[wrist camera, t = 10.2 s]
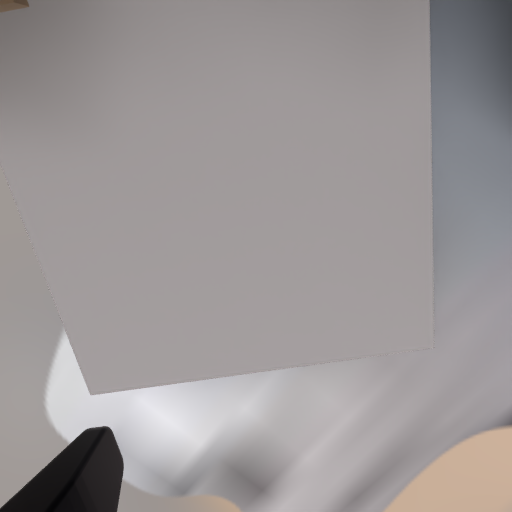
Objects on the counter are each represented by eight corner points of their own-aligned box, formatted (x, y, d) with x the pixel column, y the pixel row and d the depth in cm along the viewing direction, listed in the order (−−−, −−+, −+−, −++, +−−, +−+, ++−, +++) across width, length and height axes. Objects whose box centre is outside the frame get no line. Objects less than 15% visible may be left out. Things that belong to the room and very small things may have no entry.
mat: (422, -76, 15) (428, -82, 14) (429, 341, 22) (434, 348, 21) (-47, 17, 16) (-58, 16, 16) (94, 387, 23) (90, 395, 22)
